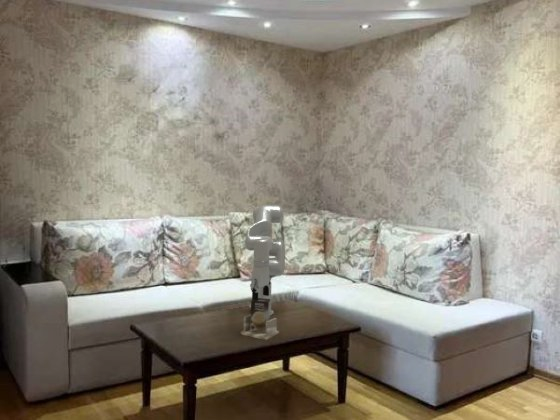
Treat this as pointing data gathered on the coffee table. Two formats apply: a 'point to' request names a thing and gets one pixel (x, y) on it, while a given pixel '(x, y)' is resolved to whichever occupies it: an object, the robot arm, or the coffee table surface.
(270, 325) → the book rack
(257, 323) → the coffee box
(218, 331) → the coffee table surface
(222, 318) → the coffee table surface
